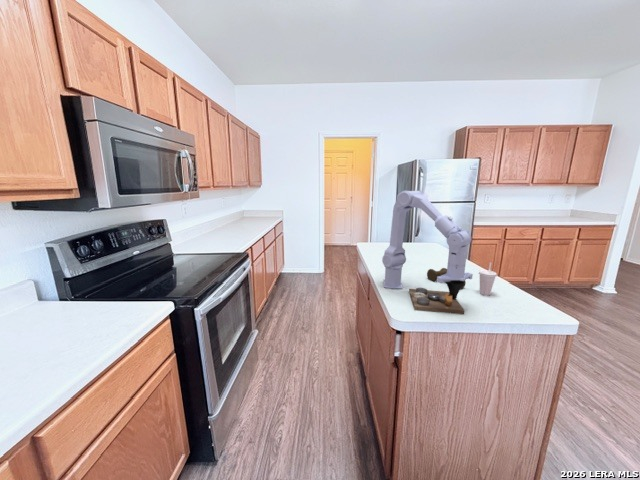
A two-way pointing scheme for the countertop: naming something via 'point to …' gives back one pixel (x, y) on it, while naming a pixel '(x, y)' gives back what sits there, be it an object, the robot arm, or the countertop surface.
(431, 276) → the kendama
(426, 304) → the base
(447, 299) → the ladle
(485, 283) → the smoothie
